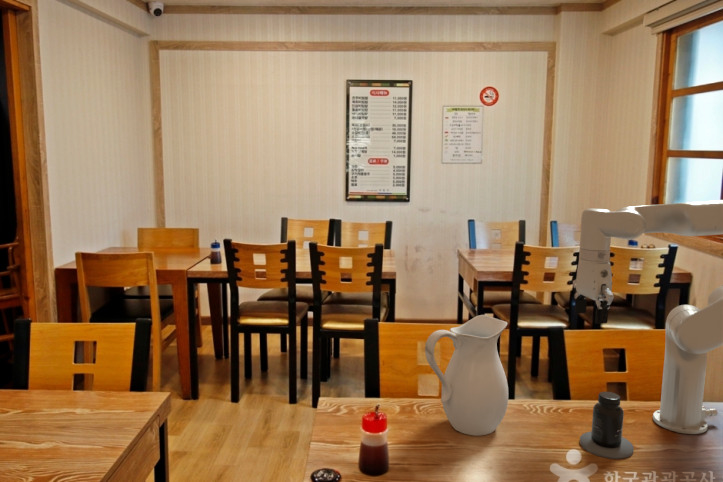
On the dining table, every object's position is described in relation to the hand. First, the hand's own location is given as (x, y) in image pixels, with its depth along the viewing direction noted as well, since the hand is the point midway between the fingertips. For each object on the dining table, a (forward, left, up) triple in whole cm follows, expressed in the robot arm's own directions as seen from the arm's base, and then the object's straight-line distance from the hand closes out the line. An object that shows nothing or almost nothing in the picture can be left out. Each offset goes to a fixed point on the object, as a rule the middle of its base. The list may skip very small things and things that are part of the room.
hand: (590, 317), depth 157 cm
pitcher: (+37, +4, -26) cm, 46 cm away
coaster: (+6, +19, -26) cm, 33 cm away
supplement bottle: (+6, +19, -26) cm, 32 cm away
